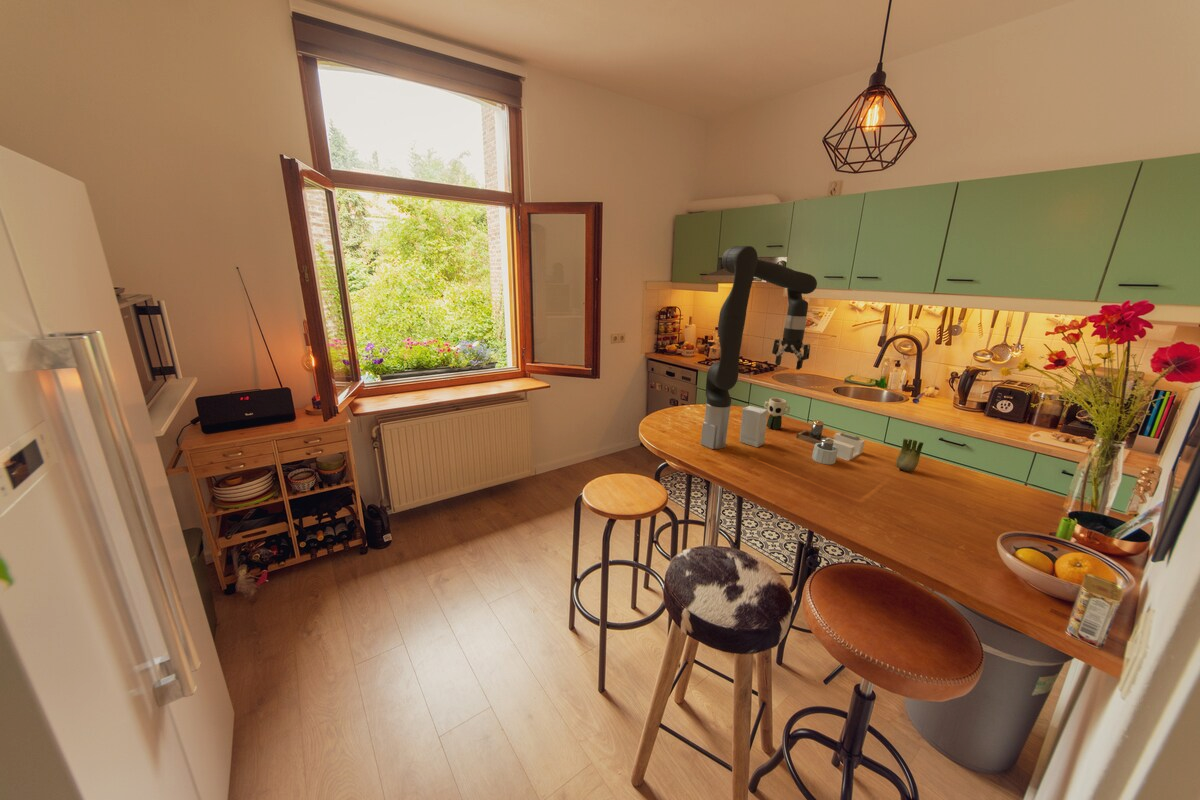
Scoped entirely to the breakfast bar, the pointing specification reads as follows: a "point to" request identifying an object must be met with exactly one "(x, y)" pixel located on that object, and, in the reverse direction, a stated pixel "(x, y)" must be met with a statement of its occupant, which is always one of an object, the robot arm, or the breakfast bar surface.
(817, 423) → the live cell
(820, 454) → the white faceted round pot
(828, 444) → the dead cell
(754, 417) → the skincare box
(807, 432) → the trough
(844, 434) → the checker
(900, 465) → the fennel bulb
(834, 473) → the breakfast bar surface
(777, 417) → the character mug
